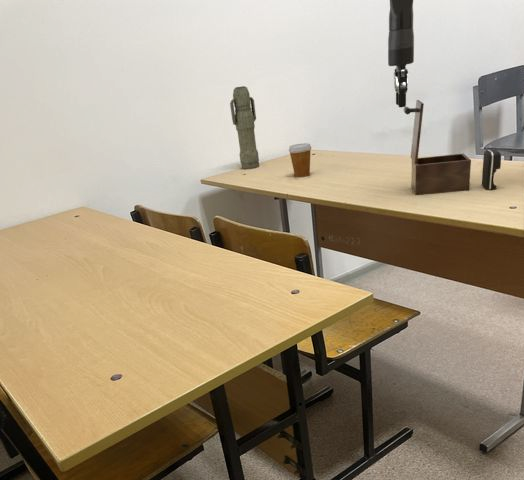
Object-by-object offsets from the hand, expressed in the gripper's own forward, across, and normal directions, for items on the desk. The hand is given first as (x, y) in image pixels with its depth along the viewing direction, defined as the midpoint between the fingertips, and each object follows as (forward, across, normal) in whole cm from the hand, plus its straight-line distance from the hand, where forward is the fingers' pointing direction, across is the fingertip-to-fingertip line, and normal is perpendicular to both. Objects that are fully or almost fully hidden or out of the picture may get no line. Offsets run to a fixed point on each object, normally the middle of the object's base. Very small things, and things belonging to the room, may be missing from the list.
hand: (400, 105), depth 167 cm
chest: (+27, 0, -13) cm, 30 cm away
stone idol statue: (+27, +75, +63) cm, 102 cm away
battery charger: (+27, -5, -28) cm, 39 cm away
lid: (+8, 0, -5) cm, 10 cm away
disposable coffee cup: (+27, +44, +36) cm, 63 cm away
